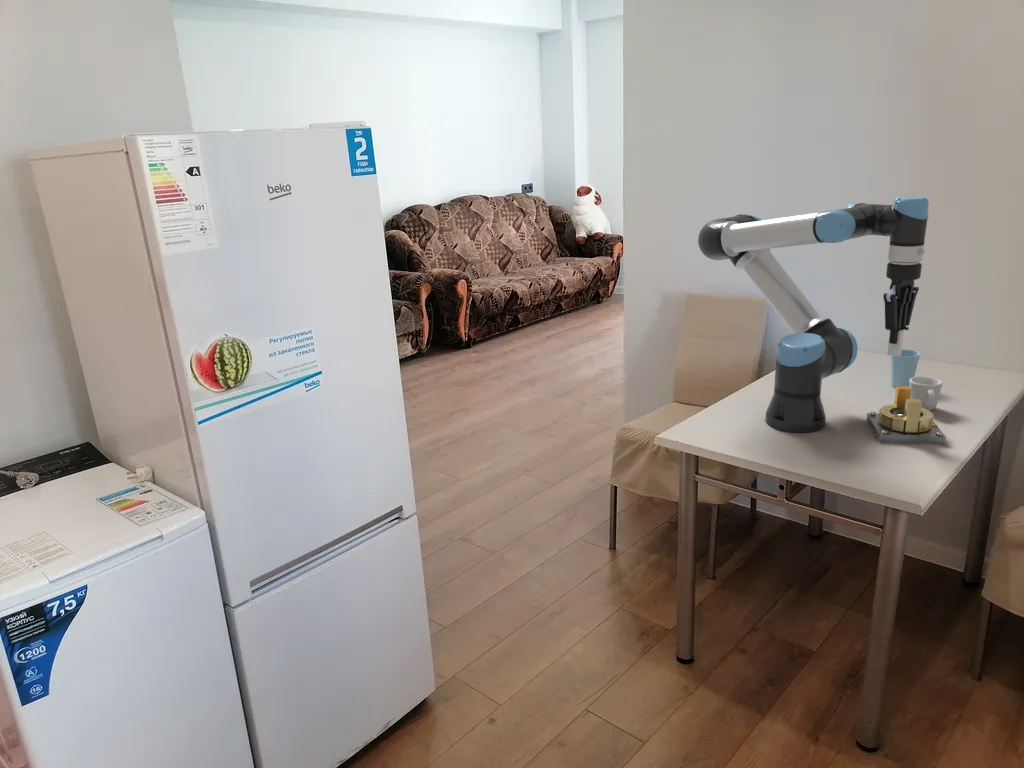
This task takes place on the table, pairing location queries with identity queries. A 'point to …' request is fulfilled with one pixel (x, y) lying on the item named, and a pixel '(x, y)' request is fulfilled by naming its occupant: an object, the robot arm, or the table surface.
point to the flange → (904, 437)
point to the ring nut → (906, 413)
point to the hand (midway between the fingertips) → (894, 354)
